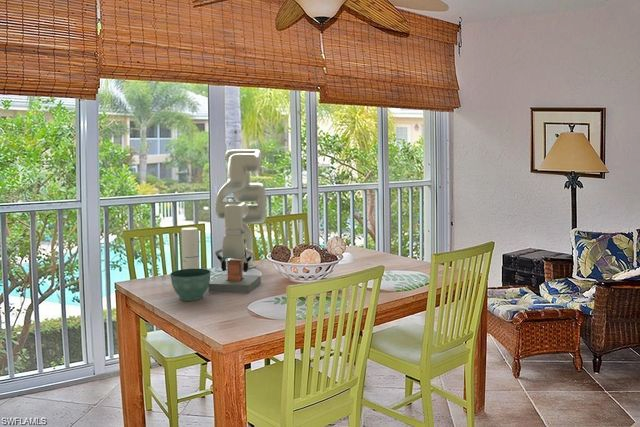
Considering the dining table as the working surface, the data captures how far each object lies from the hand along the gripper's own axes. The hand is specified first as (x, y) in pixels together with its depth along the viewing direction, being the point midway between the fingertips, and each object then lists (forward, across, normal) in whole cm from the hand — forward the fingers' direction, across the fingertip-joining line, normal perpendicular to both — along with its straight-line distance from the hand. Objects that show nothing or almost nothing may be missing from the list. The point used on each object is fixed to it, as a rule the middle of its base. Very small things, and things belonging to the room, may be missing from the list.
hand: (234, 271), depth 268 cm
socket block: (+7, 0, 0) cm, 7 cm away
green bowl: (+7, +12, +20) cm, 25 cm away
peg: (+7, 0, 0) cm, 7 cm away
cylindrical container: (+7, +22, -4) cm, 24 cm away
